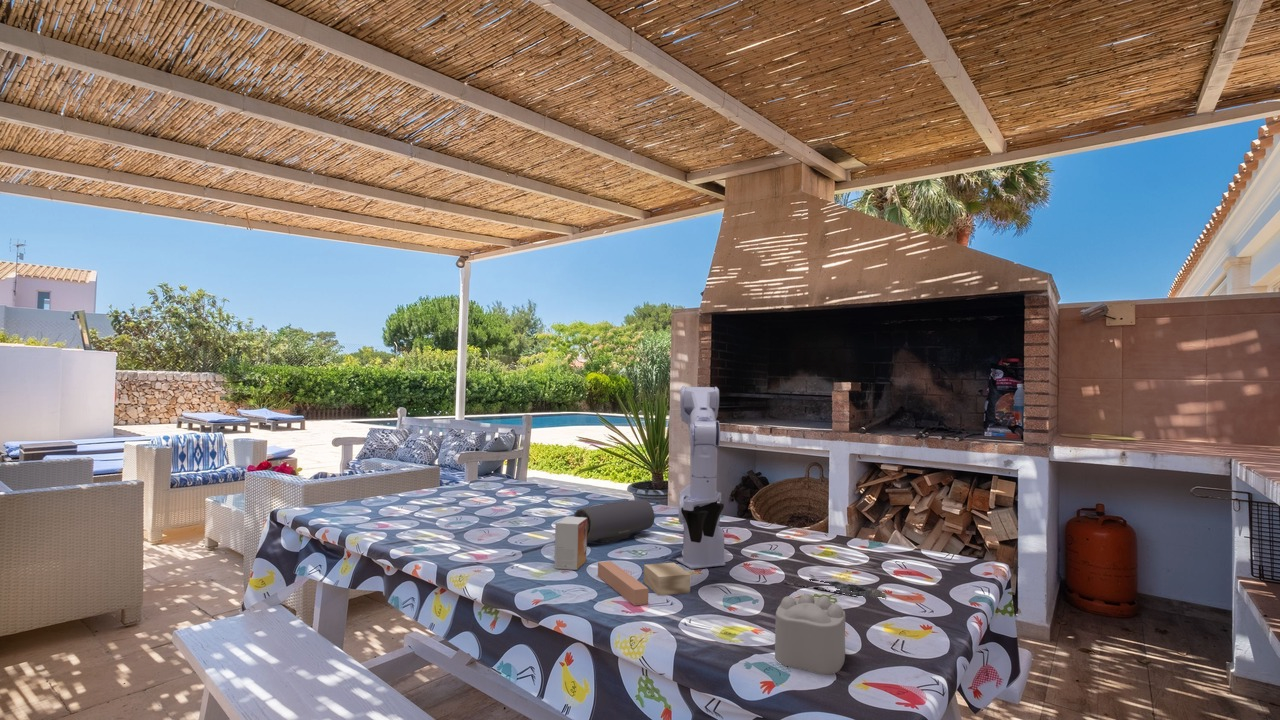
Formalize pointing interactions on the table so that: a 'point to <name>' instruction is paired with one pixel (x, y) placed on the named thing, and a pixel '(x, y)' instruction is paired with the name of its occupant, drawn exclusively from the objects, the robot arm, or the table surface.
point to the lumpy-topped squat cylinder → (810, 634)
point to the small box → (570, 543)
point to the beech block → (666, 578)
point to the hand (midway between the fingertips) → (702, 539)
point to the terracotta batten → (623, 583)
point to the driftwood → (849, 589)
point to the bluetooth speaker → (617, 519)
